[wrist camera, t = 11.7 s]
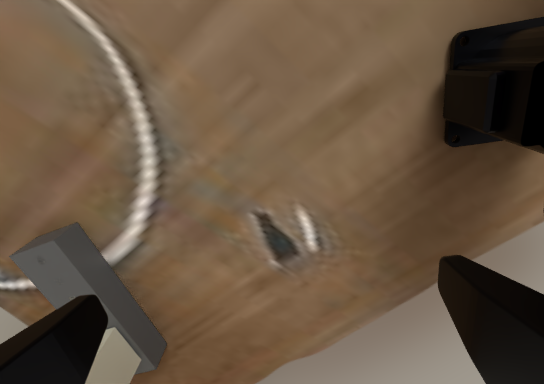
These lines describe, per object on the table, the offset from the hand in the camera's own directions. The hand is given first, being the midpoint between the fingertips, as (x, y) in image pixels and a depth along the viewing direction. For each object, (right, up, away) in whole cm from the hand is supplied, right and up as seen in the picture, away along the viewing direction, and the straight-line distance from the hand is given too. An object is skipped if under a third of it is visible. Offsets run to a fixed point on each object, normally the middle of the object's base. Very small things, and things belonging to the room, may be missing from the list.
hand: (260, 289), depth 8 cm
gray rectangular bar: (-14, -6, +18) cm, 23 cm away
